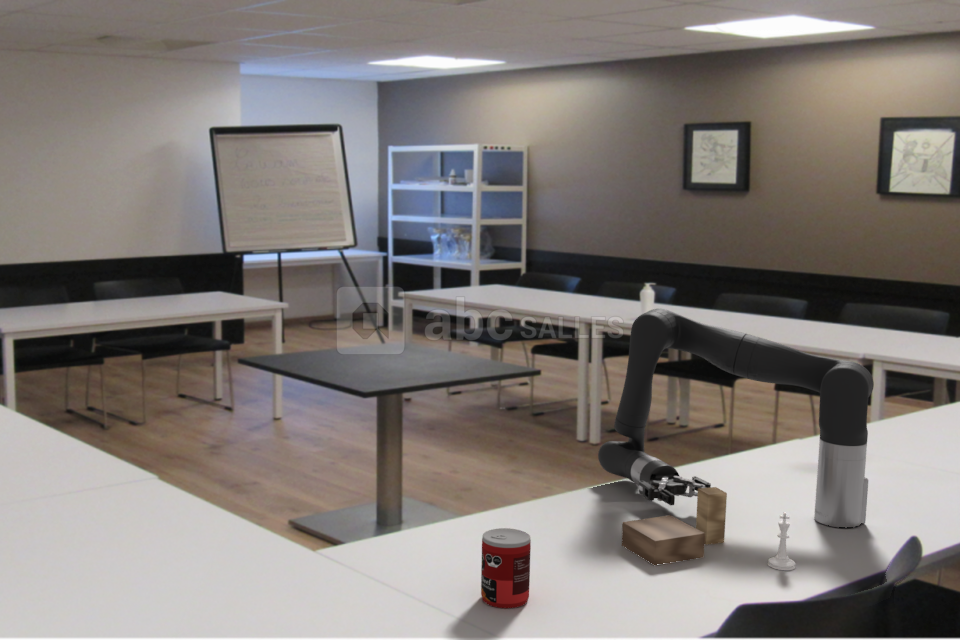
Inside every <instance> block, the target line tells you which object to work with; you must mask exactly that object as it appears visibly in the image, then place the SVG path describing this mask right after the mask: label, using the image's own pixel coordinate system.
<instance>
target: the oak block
mask: <svg viewBox="0 0 960 640" xmlns="http://www.w3.org/2000/svg"><path fill="white" fill-rule="evenodd" d="M697 493H698V497H697V496H696V497H697V502H696V517H695V518H696V520H695V528H696V529H698V530H700V531H702V532H704V533H705V544H704V545H707V546H708V544H709V545H715V544H716V545H717V544H724V543H725V536H726V535H725V533H726V518H727V517H726V513H727V500H728V499H727V498H728V493H727V492H726V491H724V490H722V489H720V488H719V487H717V486H714V487H710V488H698V491H697Z"/></svg>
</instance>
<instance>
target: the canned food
mask: <svg viewBox="0 0 960 640" xmlns="http://www.w3.org/2000/svg"><path fill="white" fill-rule="evenodd" d="M531 540H532V539H531V535H530V534H529V533H528V532H526V531H523V530H520V529H516V528H511V527H509V528H507V527H505V528H503V527H501V528H493V529H489V530H486V531H485V532H484V533H482V538H481V566H480V567H481V575H480V576H481V577H480V579H481V582H480V589H481V590H480V596H481V599H482V601H483V603H484V604H486V605H488V606H491V607H493V608H497V609H515V608H516V609H517V608H520V607H523V606H524V605H526V603H528V601H529V597H530V583H531V582H530V575H531V546H532V545H531V543H532V542H531Z"/></svg>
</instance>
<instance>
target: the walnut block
mask: <svg viewBox="0 0 960 640" xmlns="http://www.w3.org/2000/svg"><path fill="white" fill-rule="evenodd" d="M621 525H622V528H621V546H622V547H623V546H624V547H623V548H625V547H626V548H627V549H626V548H625V549H626V550H628V551H629V550H630V551H629V552H631V551H632V552H631V553H633V552H634V553H635V554H634V553H633V554H634V555H636V554H637V556H638V555H639V556H640V557H639V556H638V557H639V558H641V557H642V558H644V559H645V560H644V559H643V560H644V561H646V560H647V561H649V562H650V563H649V562H648V563H649V564H651V563H652V564H654V565H657V564H663V563H669V564H671V563H670V562H675V563H677V562H676V561H681V562H684V561H683V560H687V561H691V560H690V559H693V560H697V559H696V558H699V559H704V558H705V545H706V544H705V533H704V532H702V531H700V530H698V529H696V527H694V526H692V525H690V524H688V523H686V522H684V521H682V520H680V519H678V518H677V517H674V516H673V515H662V516H655V517H647V518H643V519H634V520H633V519H632V520H628V521H623V522H622V523H621ZM642 558H641V559H642ZM647 561H646V562H647ZM652 564H651V565H652ZM654 565H653V566H654ZM663 565H664V564H663ZM657 566H658V565H657Z"/></svg>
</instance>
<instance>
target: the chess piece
mask: <svg viewBox="0 0 960 640" xmlns="http://www.w3.org/2000/svg"><path fill="white" fill-rule="evenodd" d="M779 519H782V520H780V521H778V528H779V531H780V532H779V533H777V537H778V538H780V540H779V545H778V550H777V554H776V555H775V556H772V557H770V558H768V560H767V565H768V566H769V568H772V569H775V570H779V571H792V570H795V569H796V562H795V560H793V559H791V558H790V557H789V555H788V554H787V553H788V552H787V539H790V534H789V533H788V532H789V531H788V530H789V528H790V526H791V523H790V522H789V521H787V520H790V515H787V512H785V511H784V512H783V515H782V514H781V515H779Z"/></svg>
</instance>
